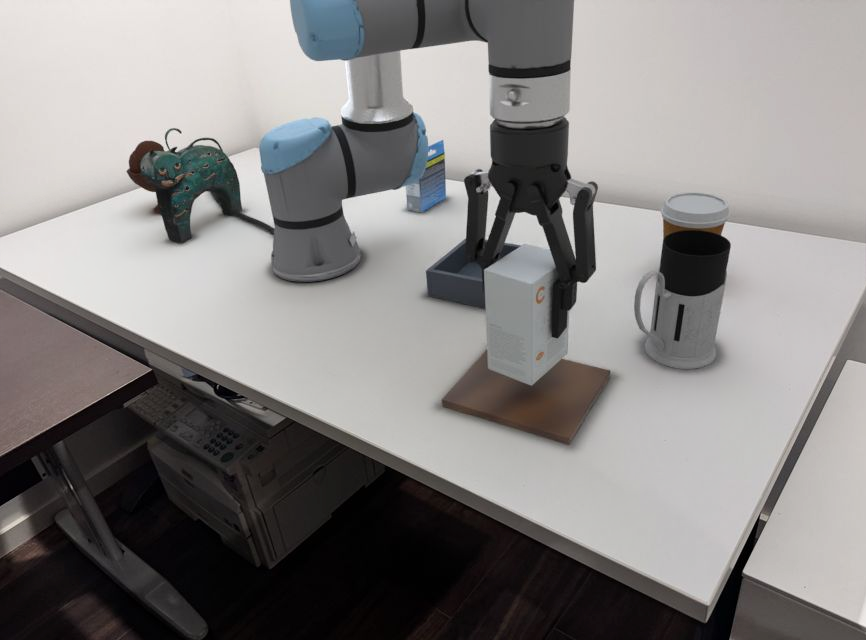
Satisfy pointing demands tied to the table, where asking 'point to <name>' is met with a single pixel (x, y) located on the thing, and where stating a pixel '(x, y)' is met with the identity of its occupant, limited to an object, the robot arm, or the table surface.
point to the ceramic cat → (190, 183)
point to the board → (531, 398)
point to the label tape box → (429, 182)
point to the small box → (522, 315)
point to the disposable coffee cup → (694, 213)
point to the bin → (459, 276)
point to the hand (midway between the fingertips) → (528, 324)
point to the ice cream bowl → (135, 166)
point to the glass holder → (686, 299)
